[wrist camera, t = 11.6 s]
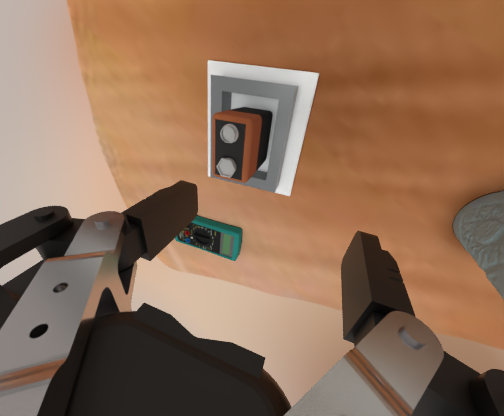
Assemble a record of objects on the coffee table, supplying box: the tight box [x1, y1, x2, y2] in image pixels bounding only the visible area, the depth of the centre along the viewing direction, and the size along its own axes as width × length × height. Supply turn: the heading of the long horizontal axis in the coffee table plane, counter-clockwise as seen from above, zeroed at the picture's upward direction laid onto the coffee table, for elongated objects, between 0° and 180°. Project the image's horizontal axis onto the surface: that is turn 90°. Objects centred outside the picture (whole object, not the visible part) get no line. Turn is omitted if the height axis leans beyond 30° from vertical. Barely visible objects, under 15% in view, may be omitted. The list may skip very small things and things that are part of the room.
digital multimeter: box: [175, 215, 242, 261], centre depth 42 cm, size 7×15×3 cm, turn 82°
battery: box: [212, 107, 273, 183], centre depth 25 cm, size 4×7×10 cm, turn 174°
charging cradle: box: [208, 60, 319, 196], centre depth 28 cm, size 16×14×4 cm
